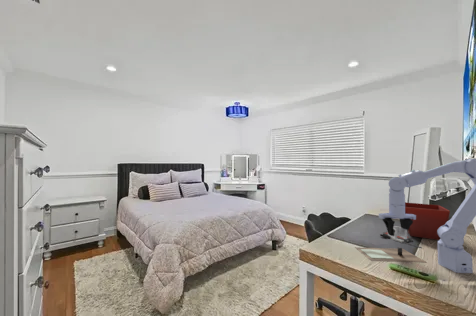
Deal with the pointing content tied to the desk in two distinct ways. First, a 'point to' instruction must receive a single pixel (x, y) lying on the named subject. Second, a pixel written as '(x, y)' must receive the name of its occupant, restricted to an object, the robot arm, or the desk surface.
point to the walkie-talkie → (398, 239)
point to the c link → (399, 232)
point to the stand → (389, 255)
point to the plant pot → (426, 219)
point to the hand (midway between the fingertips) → (397, 235)
